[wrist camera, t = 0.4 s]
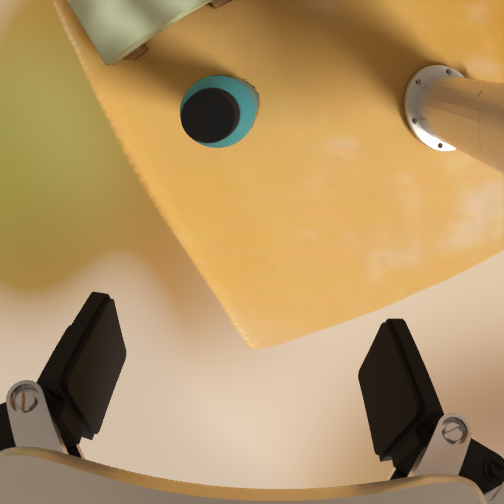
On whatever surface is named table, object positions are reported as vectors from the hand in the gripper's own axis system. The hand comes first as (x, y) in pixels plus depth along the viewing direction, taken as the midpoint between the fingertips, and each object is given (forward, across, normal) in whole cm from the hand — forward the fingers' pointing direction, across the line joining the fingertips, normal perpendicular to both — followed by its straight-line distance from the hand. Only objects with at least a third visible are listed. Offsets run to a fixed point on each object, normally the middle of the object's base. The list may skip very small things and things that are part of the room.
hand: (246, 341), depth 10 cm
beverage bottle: (+34, +3, -5) cm, 35 cm away
